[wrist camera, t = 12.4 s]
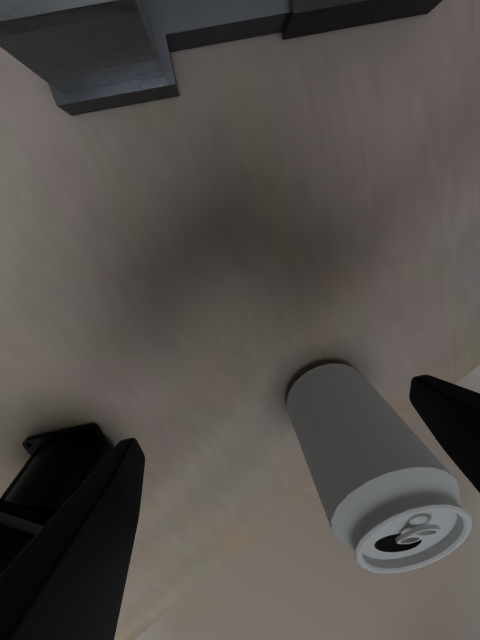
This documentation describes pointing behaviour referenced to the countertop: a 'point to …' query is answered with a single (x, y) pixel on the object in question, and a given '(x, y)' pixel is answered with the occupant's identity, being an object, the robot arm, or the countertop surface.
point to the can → (374, 473)
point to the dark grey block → (81, 41)
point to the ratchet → (231, 36)
